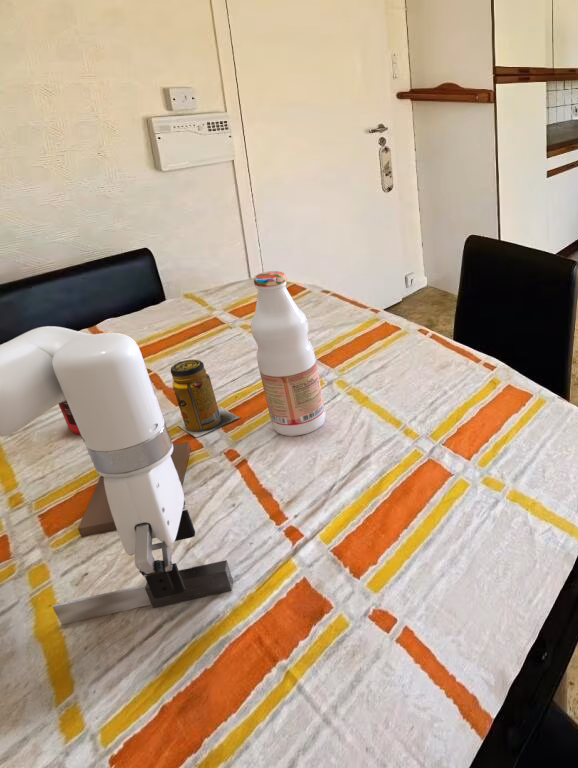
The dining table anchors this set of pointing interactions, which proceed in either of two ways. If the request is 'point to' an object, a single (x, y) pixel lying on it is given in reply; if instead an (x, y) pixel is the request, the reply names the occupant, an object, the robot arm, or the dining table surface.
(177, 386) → the condiment
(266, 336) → the fruit juice
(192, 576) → the knife
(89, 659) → the dining table surface
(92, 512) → the board
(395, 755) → the dining table surface
